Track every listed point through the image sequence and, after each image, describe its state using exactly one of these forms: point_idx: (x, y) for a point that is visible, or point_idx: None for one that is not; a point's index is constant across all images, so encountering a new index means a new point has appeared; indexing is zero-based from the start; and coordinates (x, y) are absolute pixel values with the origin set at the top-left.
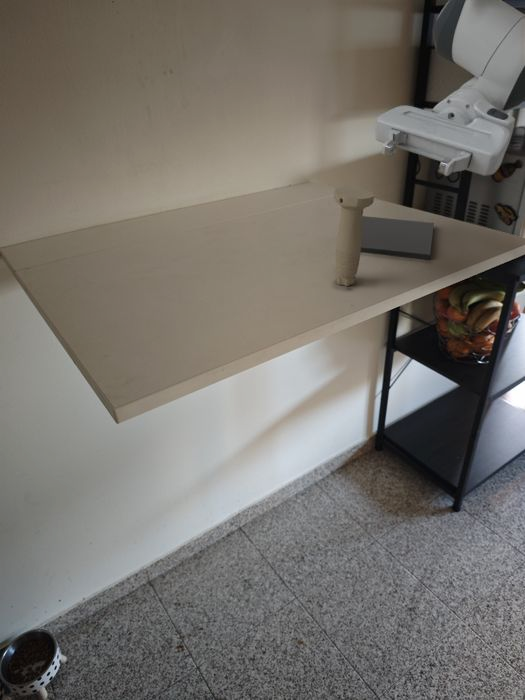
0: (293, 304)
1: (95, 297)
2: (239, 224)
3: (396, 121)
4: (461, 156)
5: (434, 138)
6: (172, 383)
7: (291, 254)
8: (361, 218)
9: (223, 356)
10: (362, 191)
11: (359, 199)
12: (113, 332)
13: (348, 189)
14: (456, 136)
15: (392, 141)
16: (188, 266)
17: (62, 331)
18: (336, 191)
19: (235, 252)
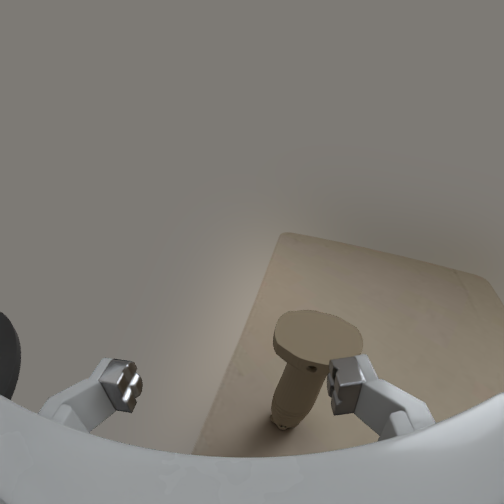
0: None
1: (401, 273)
2: None
3: (465, 436)
4: (67, 397)
5: (186, 455)
6: (277, 246)
7: None
8: (288, 367)
9: (276, 268)
10: (314, 351)
11: (285, 313)
12: (349, 257)
13: (343, 346)
14: (75, 481)
15: (357, 378)
16: (426, 334)
17: (366, 248)
18: (347, 324)
19: (438, 384)
